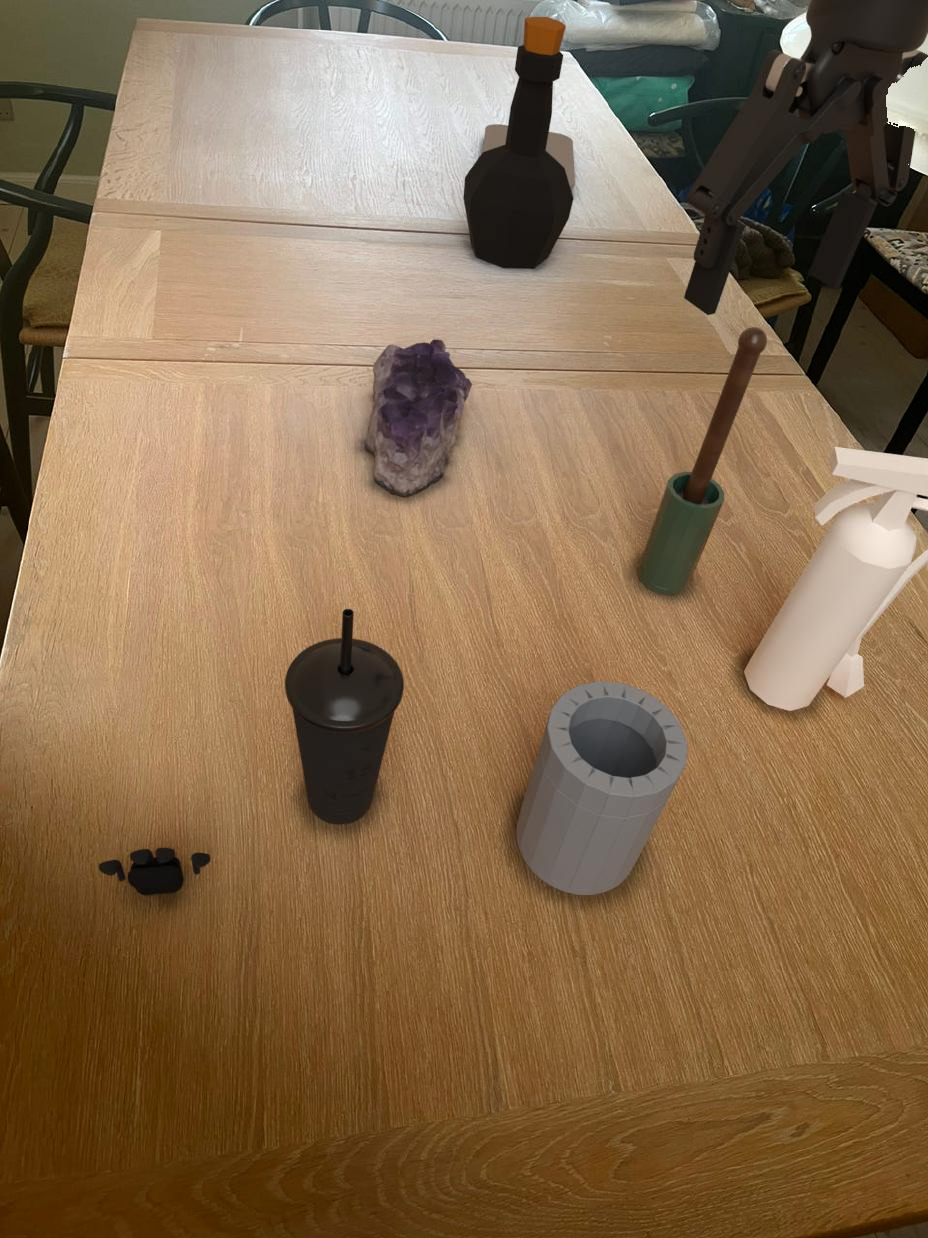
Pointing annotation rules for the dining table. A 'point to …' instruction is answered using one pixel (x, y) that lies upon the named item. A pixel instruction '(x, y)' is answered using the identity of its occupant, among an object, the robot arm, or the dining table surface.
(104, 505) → the dining table surface
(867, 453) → the fire extinguisher
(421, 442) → the geode
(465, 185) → the bottle
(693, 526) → the brush pot
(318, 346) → the dining table surface
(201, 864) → the wireless earbuds
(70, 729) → the dining table surface
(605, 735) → the gray cylindrical holder
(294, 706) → the drinking cup
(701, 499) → the brush
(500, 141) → the tablet
